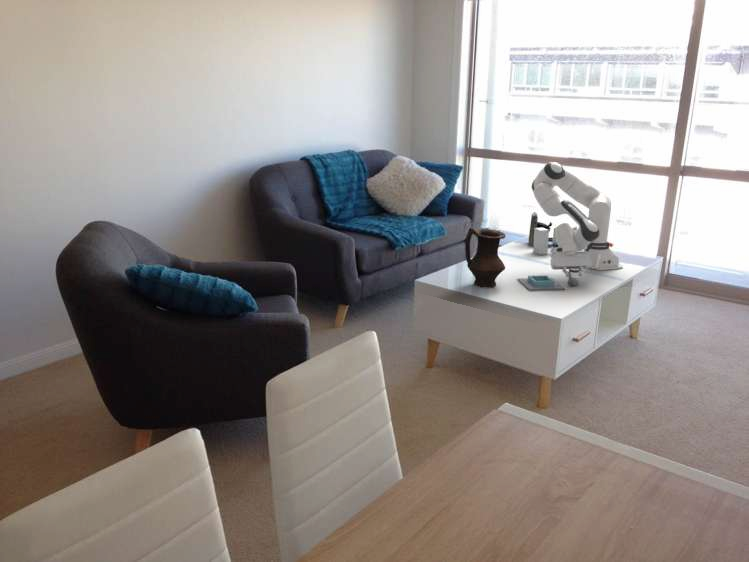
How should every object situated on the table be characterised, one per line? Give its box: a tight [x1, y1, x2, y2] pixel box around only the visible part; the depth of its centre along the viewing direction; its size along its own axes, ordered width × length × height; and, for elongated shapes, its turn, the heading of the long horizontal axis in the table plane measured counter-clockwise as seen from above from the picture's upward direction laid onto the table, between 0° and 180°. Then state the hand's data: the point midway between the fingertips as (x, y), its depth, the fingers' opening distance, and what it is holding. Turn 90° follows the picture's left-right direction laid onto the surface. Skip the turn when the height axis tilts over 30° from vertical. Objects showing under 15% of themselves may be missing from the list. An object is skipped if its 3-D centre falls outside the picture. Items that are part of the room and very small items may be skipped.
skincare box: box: [532, 228, 550, 255], centre depth 390 cm, size 8×6×15 cm
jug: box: [464, 226, 506, 288], centre depth 325 cm, size 21×18×30 cm
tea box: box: [550, 225, 578, 253], centre depth 395 cm, size 15×10×15 cm
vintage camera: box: [528, 211, 553, 247], centre depth 409 cm, size 10×16×20 cm, turn 78°
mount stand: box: [517, 275, 566, 292], centre depth 329 cm, size 18×18×4 cm
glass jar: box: [567, 267, 580, 286], centre depth 328 cm, size 5×5×8 cm
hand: (574, 275), depth 327 cm, fingers closed on glass jar, 5 cm apart
